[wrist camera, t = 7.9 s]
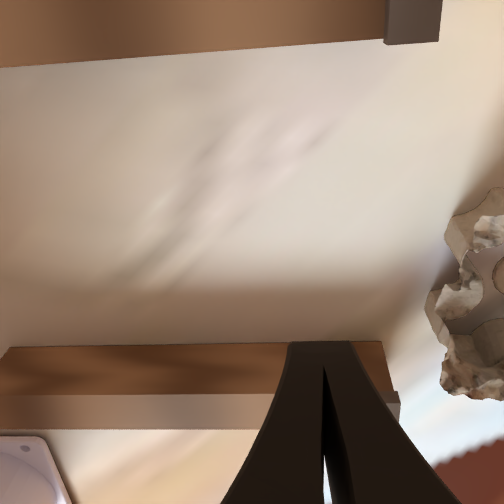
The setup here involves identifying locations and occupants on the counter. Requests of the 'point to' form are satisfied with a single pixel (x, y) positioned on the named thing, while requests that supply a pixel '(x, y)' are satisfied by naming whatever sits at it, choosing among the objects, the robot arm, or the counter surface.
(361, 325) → the counter surface
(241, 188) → the counter surface
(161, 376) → the chute
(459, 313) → the egg carton
